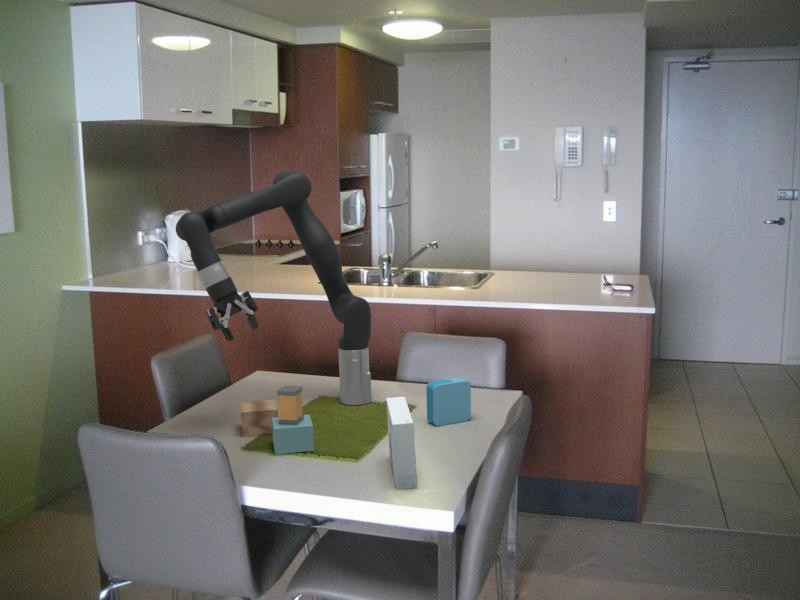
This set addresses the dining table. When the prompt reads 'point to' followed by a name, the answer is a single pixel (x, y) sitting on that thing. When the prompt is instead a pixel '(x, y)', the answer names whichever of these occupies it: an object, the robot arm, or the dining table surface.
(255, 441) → the dining table surface
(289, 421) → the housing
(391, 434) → the skincare box
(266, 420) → the stand
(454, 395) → the blue rounded flat block
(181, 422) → the dining table surface
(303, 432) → the stand
